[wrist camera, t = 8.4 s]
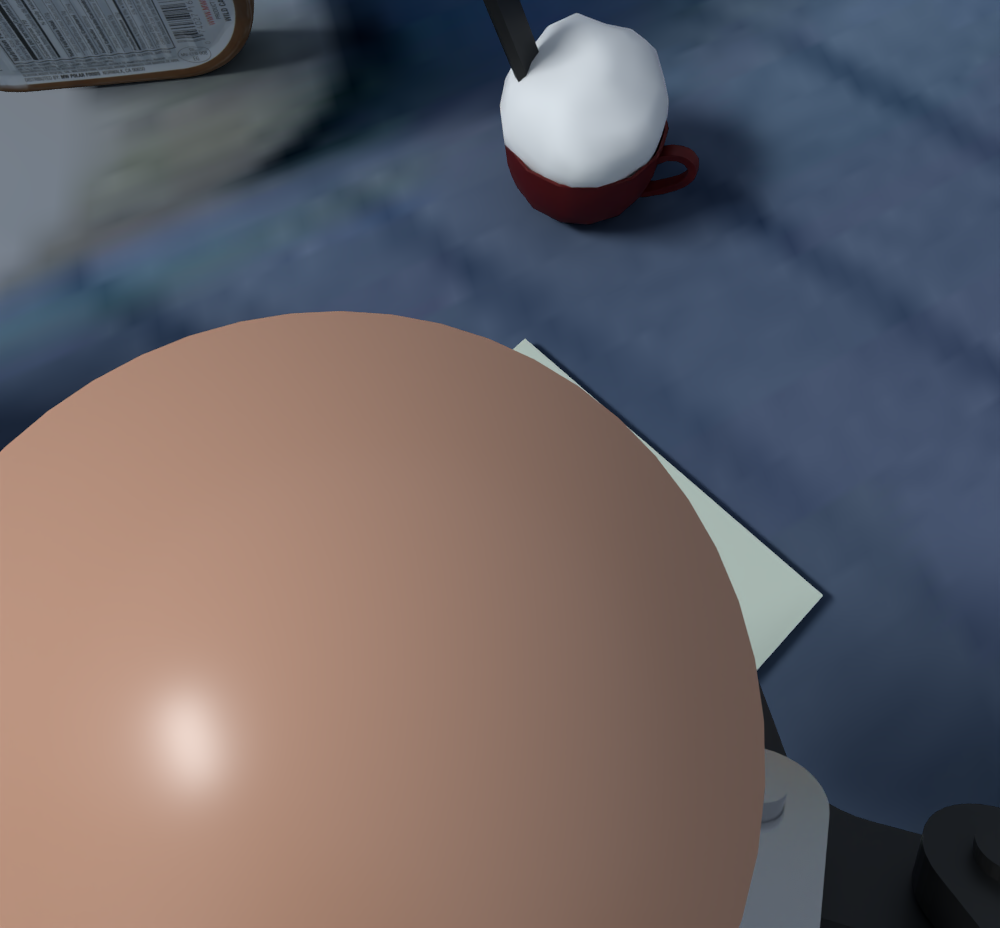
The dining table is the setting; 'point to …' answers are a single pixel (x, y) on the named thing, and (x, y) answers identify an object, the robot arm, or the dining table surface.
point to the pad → (739, 560)
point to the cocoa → (584, 116)
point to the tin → (116, 40)
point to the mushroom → (364, 648)
